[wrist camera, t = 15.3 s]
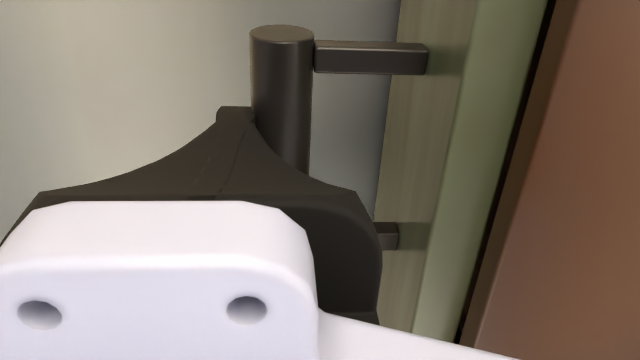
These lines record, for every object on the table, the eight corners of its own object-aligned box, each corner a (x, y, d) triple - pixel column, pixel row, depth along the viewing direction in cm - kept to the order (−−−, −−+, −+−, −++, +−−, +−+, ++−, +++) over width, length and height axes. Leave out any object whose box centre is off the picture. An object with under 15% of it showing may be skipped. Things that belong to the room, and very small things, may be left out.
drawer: (262, 269, 18) (253, 411, 13) (253, -163, 11) (227, -193, 6) (690, 268, 19) (824, 398, 15) (917, -125, 12) (1316, -127, 8)
